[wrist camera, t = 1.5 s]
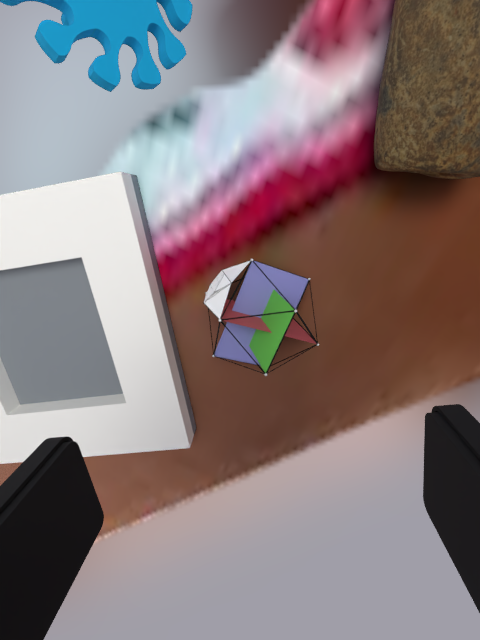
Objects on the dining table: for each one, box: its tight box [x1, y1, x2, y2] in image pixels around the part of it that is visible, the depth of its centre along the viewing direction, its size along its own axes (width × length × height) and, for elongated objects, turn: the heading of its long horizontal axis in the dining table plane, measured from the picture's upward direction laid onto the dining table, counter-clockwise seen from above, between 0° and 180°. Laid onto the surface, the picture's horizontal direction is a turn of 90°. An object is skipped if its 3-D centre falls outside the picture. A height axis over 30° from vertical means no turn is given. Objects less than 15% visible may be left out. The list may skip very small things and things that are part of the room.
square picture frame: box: [0, 172, 196, 464], centre depth 25 cm, size 18×20×2 cm
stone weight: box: [374, 0, 480, 179], centre depth 16 cm, size 15×7×7 cm, turn 1°
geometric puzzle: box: [204, 259, 319, 376], centre depth 21 cm, size 7×7×8 cm
